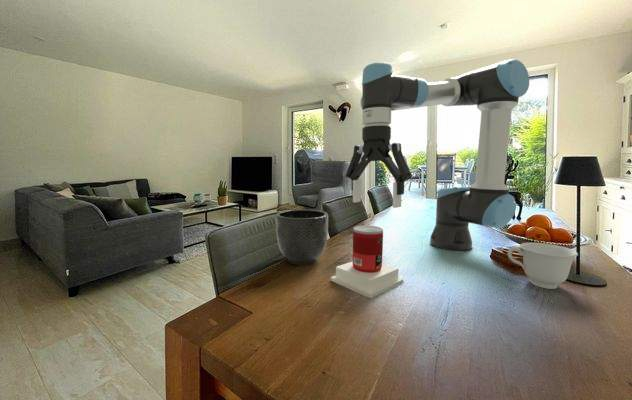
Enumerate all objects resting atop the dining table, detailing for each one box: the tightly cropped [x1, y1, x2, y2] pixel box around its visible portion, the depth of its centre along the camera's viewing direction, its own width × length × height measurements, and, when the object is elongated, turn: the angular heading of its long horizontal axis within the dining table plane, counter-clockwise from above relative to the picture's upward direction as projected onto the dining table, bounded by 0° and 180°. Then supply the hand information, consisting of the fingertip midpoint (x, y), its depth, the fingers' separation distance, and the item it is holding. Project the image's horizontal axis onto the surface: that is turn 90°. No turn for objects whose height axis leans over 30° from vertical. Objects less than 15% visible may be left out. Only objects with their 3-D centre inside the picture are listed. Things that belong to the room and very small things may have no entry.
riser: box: [330, 260, 404, 299], centre depth 79 cm, size 14×14×4 cm
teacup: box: [507, 242, 579, 290], centre depth 77 cm, size 12×15×10 cm
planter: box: [275, 209, 329, 266], centre depth 95 cm, size 17×17×16 cm
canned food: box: [352, 225, 384, 273], centre depth 78 cm, size 8×8×11 cm
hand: (375, 204), depth 80 cm, fingers open, 13 cm apart
